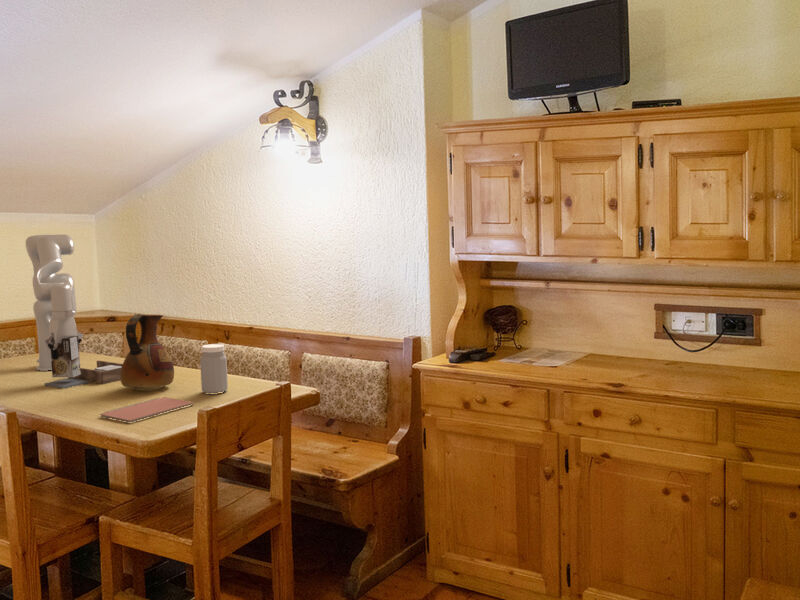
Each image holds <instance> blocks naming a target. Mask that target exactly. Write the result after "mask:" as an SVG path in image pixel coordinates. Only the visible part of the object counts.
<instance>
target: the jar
mask: <svg viewBox="0 0 800 600" xmlns="http://www.w3.org/2000/svg"><path fill="white" fill-rule="evenodd" d="M224 351H225V344H222V343H211V344H210V343H209V344H203V345H202V346H201V352H202V353H201V358H200V359H199V360H200V365H199V366H200V380H201V382H200V383H201V385H200V386H201V391H202V393H204V392H205V393H218V392H223V391H225V392H227V390H228V388H229V387H228V386H229V385H228V384H229V383H228V364H227V363H228V362H227V361H228V360H227V359H228V358H227V356H226V354H225V352H224ZM205 393H204V394H205Z"/></svg>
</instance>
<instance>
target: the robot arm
mask: <svg viewBox="0 0 800 600" xmlns="http://www.w3.org/2000/svg"><path fill="white" fill-rule="evenodd" d="M25 248H26V249H25V250H26V251H27V252H26V253H27V254H28V256H29V259H30V261H31V264H32V268H33V277H32V289H33V294H34V297H35V299H36V301H35V302H33V307H32V309H33V314H34V317H35V323H36V332H37V344H38V346H37V347H38V359H37V360H36V363H38V365H37V366H36V367H35V370H36V371H39V370H40V372H41V371H42V372H48V370H51V371H52V364H51V357H52V359H55V360H57V359H58V350H56V348H57V346H58V344H61V343H62V338H68V337H72V336H78V344H79V345H80V343H81V342H82V339H83V337H84V334H83V333H81V332H79V331H78V329H77V324H76V319H75V316H76V315H77V301H76V290H75V281H74V278H73V275H71V274H70V273H65V272H63V273H58V272H60V271H61V270H62V268H63V267H64V262H63V257H62V256H68V255H69V256H71V255H72V254H73V253H74V252H75V243H74V241H73V238H72V237H71V236H70V235H68V234H36V235H30V236H28V237H27V238H26V240H25ZM52 338H54V340H55V342H54V341H53V342H52V343H51V339H52ZM50 343H51V344H50ZM54 344H55V345H54ZM50 349H51V352H50Z"/></svg>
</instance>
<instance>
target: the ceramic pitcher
mask: <svg viewBox="0 0 800 600" xmlns="http://www.w3.org/2000/svg"><path fill="white" fill-rule="evenodd" d="M163 317H164V314H141V313H137V314H136V313H135V314H134V315H133V316H132V317H131V318H129V320H128V321H127V323H126V325H125V337H126V341H127V344H128V347H129V352H128V353H127V355H126V356H125V359H124V361H123V362H122V364H123V365H122V368H121V380H120V383H121V385H122V386H123V387H125V388H129V389H132V390H135V391H148V392H149V391H153V392H154V391H157V390H160V389H161V388H164V387H166V386H169V385H171V384H172V383H173V381H174V377H175V367H174V362H173V359H172V357H171V355H170V354H169V352H168V350H167V349H166V347H164V346H163V345H162V344H161V343H160V342H159V341H158V336H157V329H158V323H159V321H160V320H161V319H162V318H163ZM138 322H139V324H140V330H141V331H140V339H139V341H138V339H137V333H136V332H137V331H136V330H137V324H138ZM159 388H160V389H159Z"/></svg>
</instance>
